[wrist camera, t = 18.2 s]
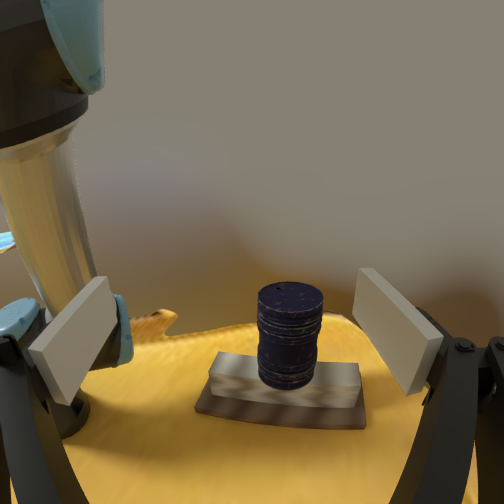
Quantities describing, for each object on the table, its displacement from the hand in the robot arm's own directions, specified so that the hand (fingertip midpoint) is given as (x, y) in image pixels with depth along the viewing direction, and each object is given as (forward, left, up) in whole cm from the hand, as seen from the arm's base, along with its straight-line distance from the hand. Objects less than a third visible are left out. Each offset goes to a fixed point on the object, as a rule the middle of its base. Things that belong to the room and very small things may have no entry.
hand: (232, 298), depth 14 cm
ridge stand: (-12, +23, -35) cm, 43 cm away
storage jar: (-11, +22, -28) cm, 37 cm away
